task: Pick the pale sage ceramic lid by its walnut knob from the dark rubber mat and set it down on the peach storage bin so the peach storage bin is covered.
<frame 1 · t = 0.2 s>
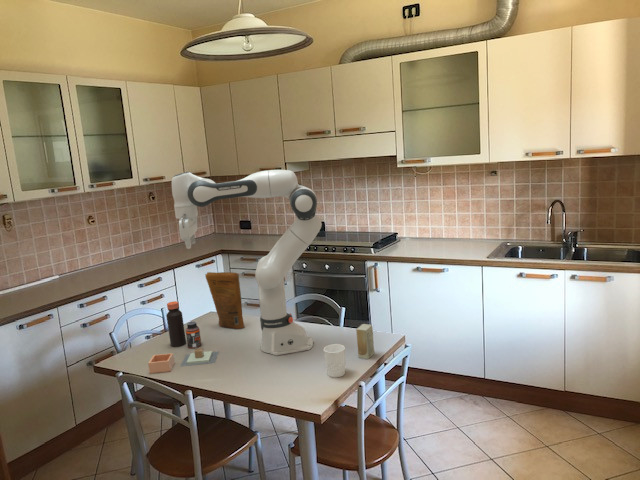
hand: (190, 246, 214), 47 cm above the table, tool pointing down, fingers open, 8 cm apart
white cup: (336, 373, 195), on the table
mat: (200, 360, 218), on the table
skincare box: (366, 356, 208), on the table
peach storage bin: (162, 369, 211), on the table
vinegar: (178, 345, 236), on the table
pancake mix bag: (230, 327, 254), on the table
lid: (199, 358, 218), point 1 cm above the table, touching mat
supplement bottle: (194, 347, 232), on the table
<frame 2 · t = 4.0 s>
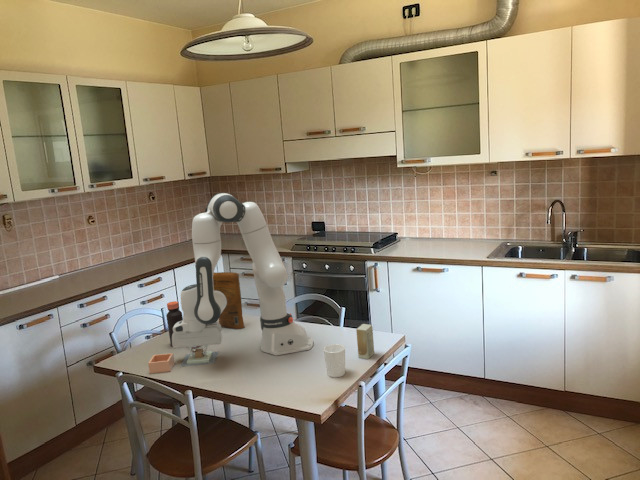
hand: (199, 355, 217), 2 cm above the table, tool pointing down, fingers closed on lid, 3 cm apart
lid: (200, 358, 218), point 1 cm above the table, touching gripper, mat
everything else where it was.
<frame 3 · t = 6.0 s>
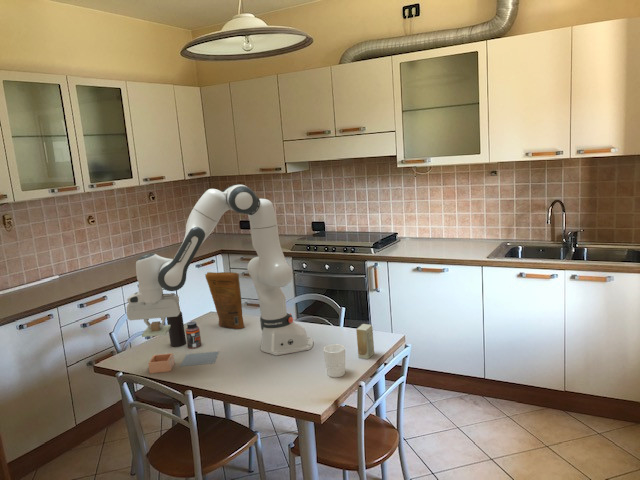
hand: (156, 328, 208), 18 cm above the table, tool pointing down, fingers closed on lid, 3 cm apart
lid: (156, 331, 208), point 16 cm above the table, touching gripper
everything else where it was.
when the fingers open (8 cm above the table, at t = 8.0 s): lid drops 1 cm, resting on peach storage bin.
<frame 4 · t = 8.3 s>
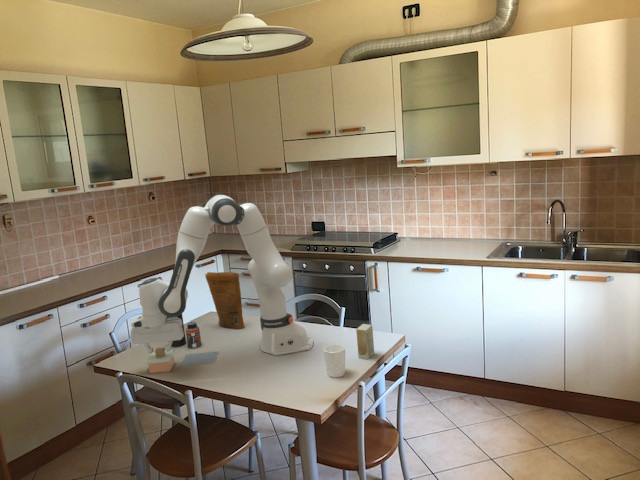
hand: (160, 351, 210), 8 cm above the table, tool pointing down, fingers open, 6 cm apart
lid: (161, 358, 211), point 5 cm above the table, touching peach storage bin
everything else where it was.
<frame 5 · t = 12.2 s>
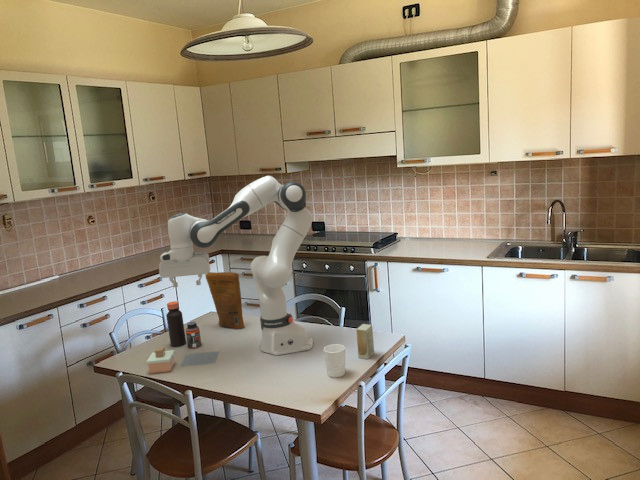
hand: (187, 285, 216), 31 cm above the table, tool pointing down, fingers open, 8 cm apart
nothing on the table moved.
at the end: lid 0.1 cm off-centre on the peach storage bin, point 5.0 cm above the peach storage bin's base; lid tilted 0°; the gripper is holding nothing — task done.
